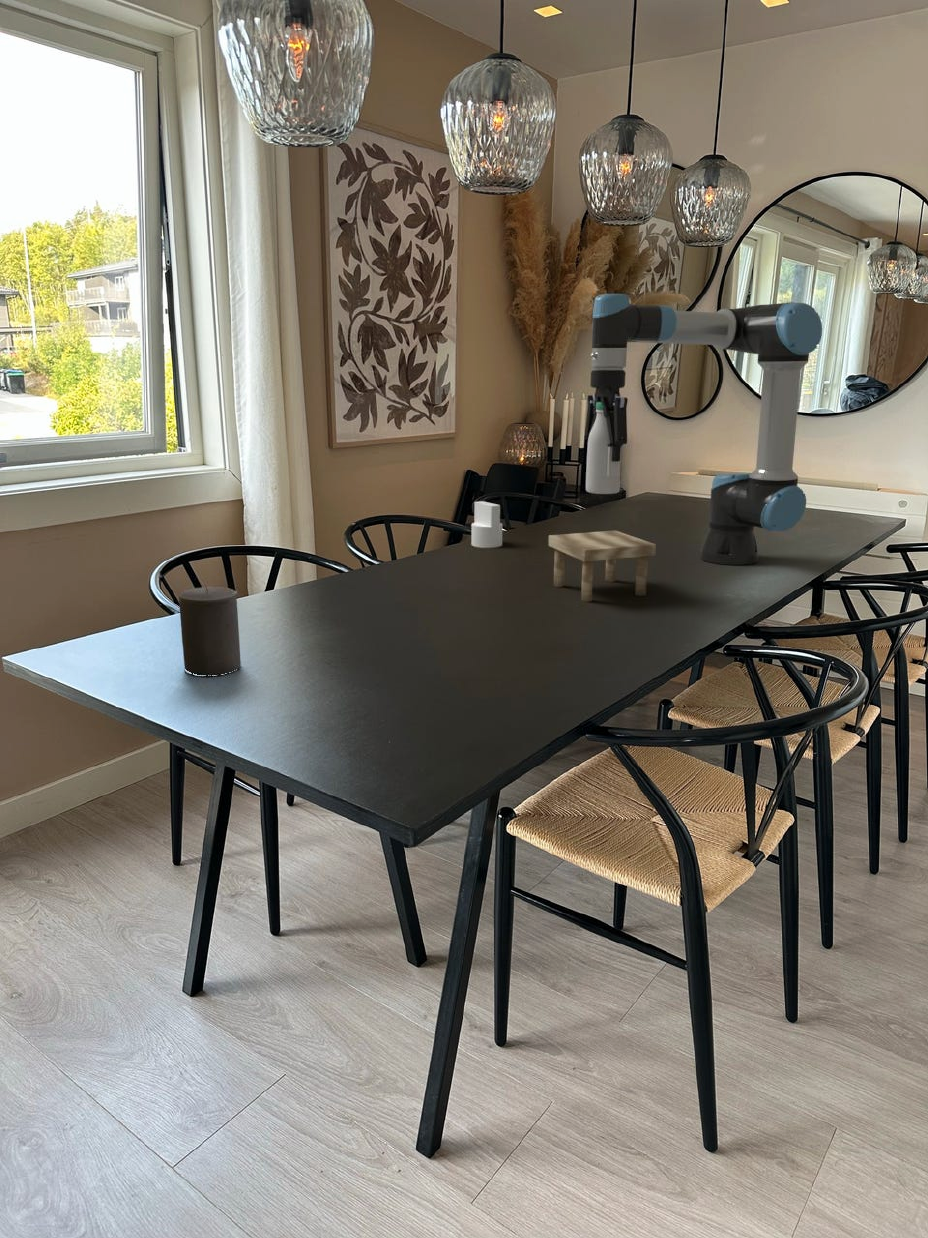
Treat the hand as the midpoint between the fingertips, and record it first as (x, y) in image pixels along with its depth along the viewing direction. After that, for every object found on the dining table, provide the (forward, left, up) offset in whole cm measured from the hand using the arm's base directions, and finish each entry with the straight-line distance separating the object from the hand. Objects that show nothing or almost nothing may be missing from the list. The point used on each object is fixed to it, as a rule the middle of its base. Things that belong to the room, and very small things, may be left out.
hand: (603, 473), depth 201 cm
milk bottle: (0, 0, -4) cm, 4 cm away
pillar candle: (+90, +24, -27) cm, 97 cm away
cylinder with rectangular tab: (+5, -58, -27) cm, 64 cm away
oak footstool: (0, 0, -27) cm, 27 cm away
